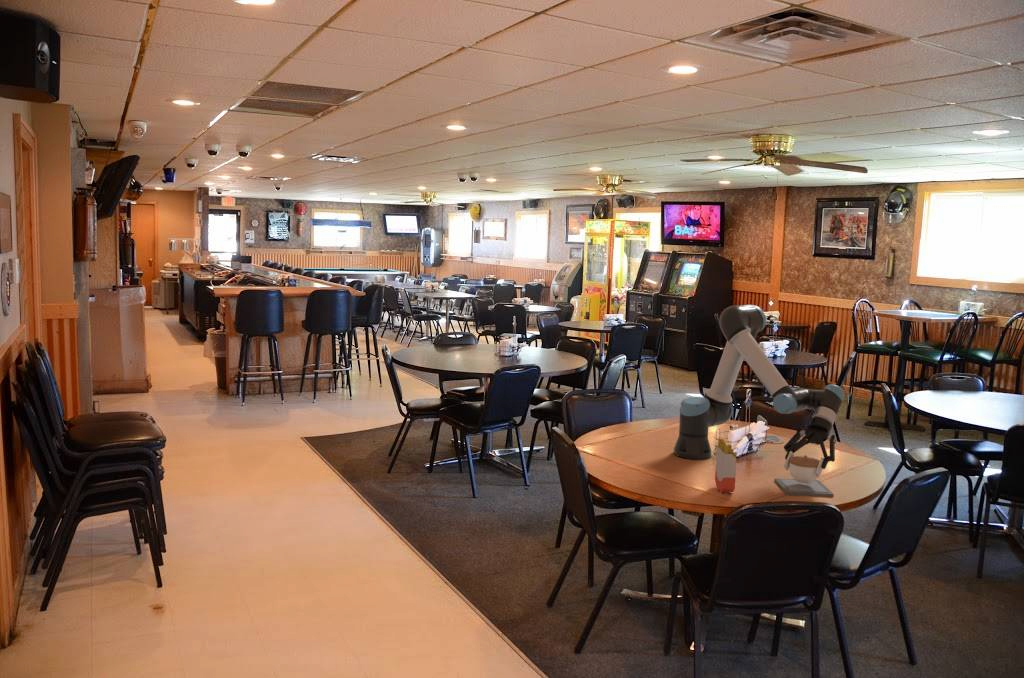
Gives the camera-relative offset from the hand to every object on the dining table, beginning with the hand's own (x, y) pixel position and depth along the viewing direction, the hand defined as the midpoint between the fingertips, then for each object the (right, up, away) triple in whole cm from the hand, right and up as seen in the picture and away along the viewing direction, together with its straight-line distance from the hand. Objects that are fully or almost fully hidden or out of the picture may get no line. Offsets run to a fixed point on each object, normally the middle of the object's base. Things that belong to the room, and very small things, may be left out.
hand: (801, 471), depth 275 cm
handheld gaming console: (+13, +1, +74) cm, 75 cm away
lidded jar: (+2, -4, +3) cm, 5 cm away
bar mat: (+2, -7, +3) cm, 7 cm away
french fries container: (-28, -7, -1) cm, 28 cm away
